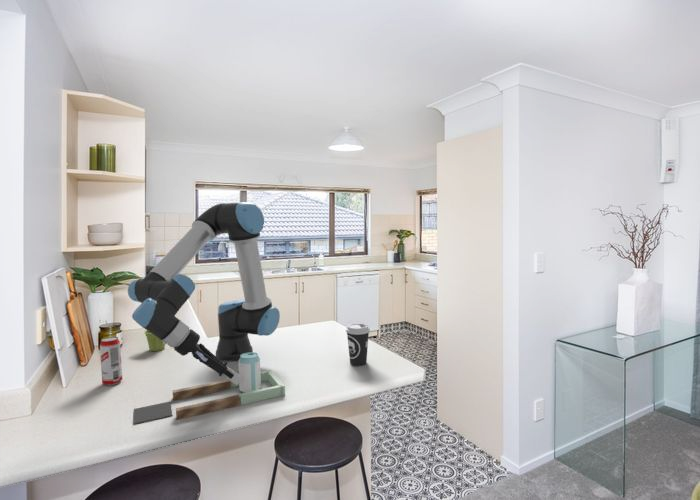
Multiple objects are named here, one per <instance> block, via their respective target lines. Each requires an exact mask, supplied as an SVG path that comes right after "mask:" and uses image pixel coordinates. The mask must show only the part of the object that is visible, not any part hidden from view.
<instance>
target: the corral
mask: <svg viewBox="0 0 700 500" xmlns="http://www.w3.org/2000/svg"><path fill="white" fill-rule="evenodd" d="M265 381H268V382H269V384H271V386H268V387H265V388H264V387H263V388H260V389H259V390H254V391H250V392H245V393H244V392H242V393H239V394H238V395H239V397H240V406H243V405H247V404H251V403H255V402H260V401H264V400H268V399H269V400H270V399H273V398H276V397H281V396H286V386H285V384H284V383H283V382H282V381H281V380H280V379H279V378H278V376H277V375H276V374H275V373H274V372H273V371H272V369H268V370H263V371H261V383H262V382H265ZM237 387H239V384H238V385H236V384H234V383H233V382H232V381H231V389H232V388H237Z"/></svg>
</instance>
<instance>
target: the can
mask: <svg viewBox="0 0 700 500" xmlns="http://www.w3.org/2000/svg"><path fill="white" fill-rule="evenodd" d="M237 361H238V375H240V376H241V377H242V378H243V379H242V380H241V381H240V382H239V386H238V387H239V388H238V389H239V391H240V392H242V393H245V392H250V391H254V390H259V389H262V388H261V387H262V382H261V372H262V371H261V357H260V356H259V353H258V352H254V351H253V352H248V353H244V354H242V355H241V356H240V359H239V360H237Z"/></svg>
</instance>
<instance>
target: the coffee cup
mask: <svg viewBox="0 0 700 500" xmlns="http://www.w3.org/2000/svg"><path fill="white" fill-rule="evenodd" d="M370 332H371V330H370V327H369V326H368V324H366V323H361V322H360V323H359V322H358V323H357V322H356V323H350V324H348V325H347V327H346V329H345V333H346V337H347V346H348V354H349V355H348V356H349V357H348V358H349V364H350V365H352V366H355V367H361V366H365V365H367V361H368V360H367V359H368V347H369V336H370V335H369V333H370Z"/></svg>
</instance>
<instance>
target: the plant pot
mask: <svg viewBox="0 0 700 500" xmlns="http://www.w3.org/2000/svg"><path fill="white" fill-rule="evenodd" d="M143 334H145V337H146V340H147V344H148V350H149V351H150V352H159V351H162V350H164V349H165V348H166V347H165V346H166V344H165V345H163V341H162V340H160V339H159V338H158V337H156V336H155V335H153V334H152V333H150V332H149V331H147V330H146V329H145V331H144V332H143Z"/></svg>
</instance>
